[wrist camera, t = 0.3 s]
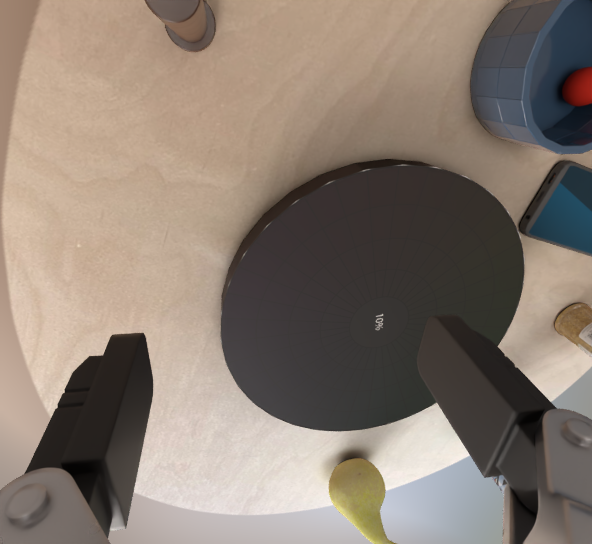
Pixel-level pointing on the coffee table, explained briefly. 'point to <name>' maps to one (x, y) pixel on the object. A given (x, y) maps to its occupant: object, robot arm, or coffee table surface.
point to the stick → (186, 22)
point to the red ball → (578, 87)
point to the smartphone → (563, 209)
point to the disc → (364, 290)
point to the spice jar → (577, 326)
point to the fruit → (360, 497)
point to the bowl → (534, 75)
